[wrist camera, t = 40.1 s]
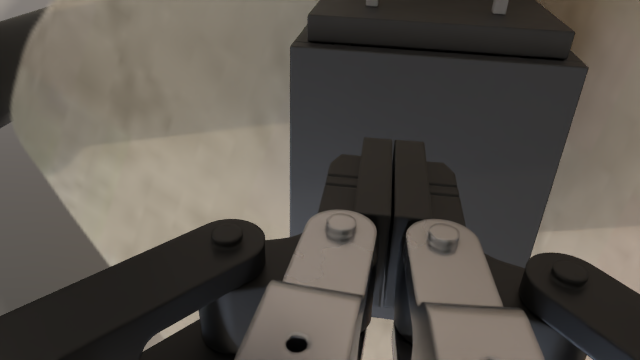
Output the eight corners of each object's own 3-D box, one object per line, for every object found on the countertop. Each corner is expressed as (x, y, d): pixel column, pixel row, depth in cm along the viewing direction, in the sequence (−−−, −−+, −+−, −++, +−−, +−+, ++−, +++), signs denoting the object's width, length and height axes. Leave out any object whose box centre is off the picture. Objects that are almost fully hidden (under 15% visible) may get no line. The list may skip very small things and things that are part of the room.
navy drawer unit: (321, 4, 30) (290, 46, 22) (536, 18, 29) (589, 67, 21) (314, 217, 38) (289, 306, 30) (483, 236, 37) (506, 335, 28)
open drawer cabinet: (333, -100, 27) (309, -98, 20) (555, -91, 25) (609, -86, 19) (321, 199, 36) (302, 268, 29) (482, 216, 35) (501, 292, 28)
